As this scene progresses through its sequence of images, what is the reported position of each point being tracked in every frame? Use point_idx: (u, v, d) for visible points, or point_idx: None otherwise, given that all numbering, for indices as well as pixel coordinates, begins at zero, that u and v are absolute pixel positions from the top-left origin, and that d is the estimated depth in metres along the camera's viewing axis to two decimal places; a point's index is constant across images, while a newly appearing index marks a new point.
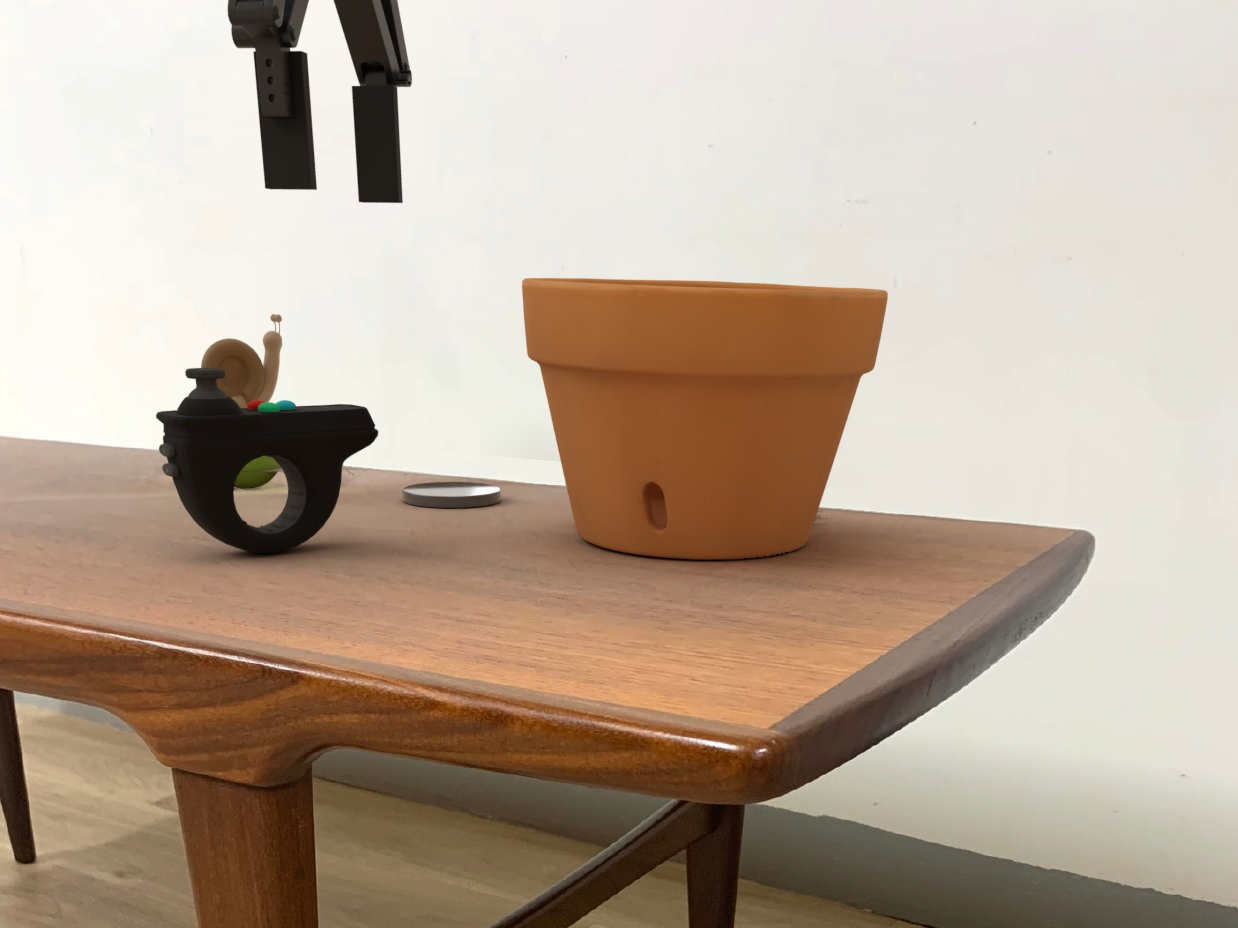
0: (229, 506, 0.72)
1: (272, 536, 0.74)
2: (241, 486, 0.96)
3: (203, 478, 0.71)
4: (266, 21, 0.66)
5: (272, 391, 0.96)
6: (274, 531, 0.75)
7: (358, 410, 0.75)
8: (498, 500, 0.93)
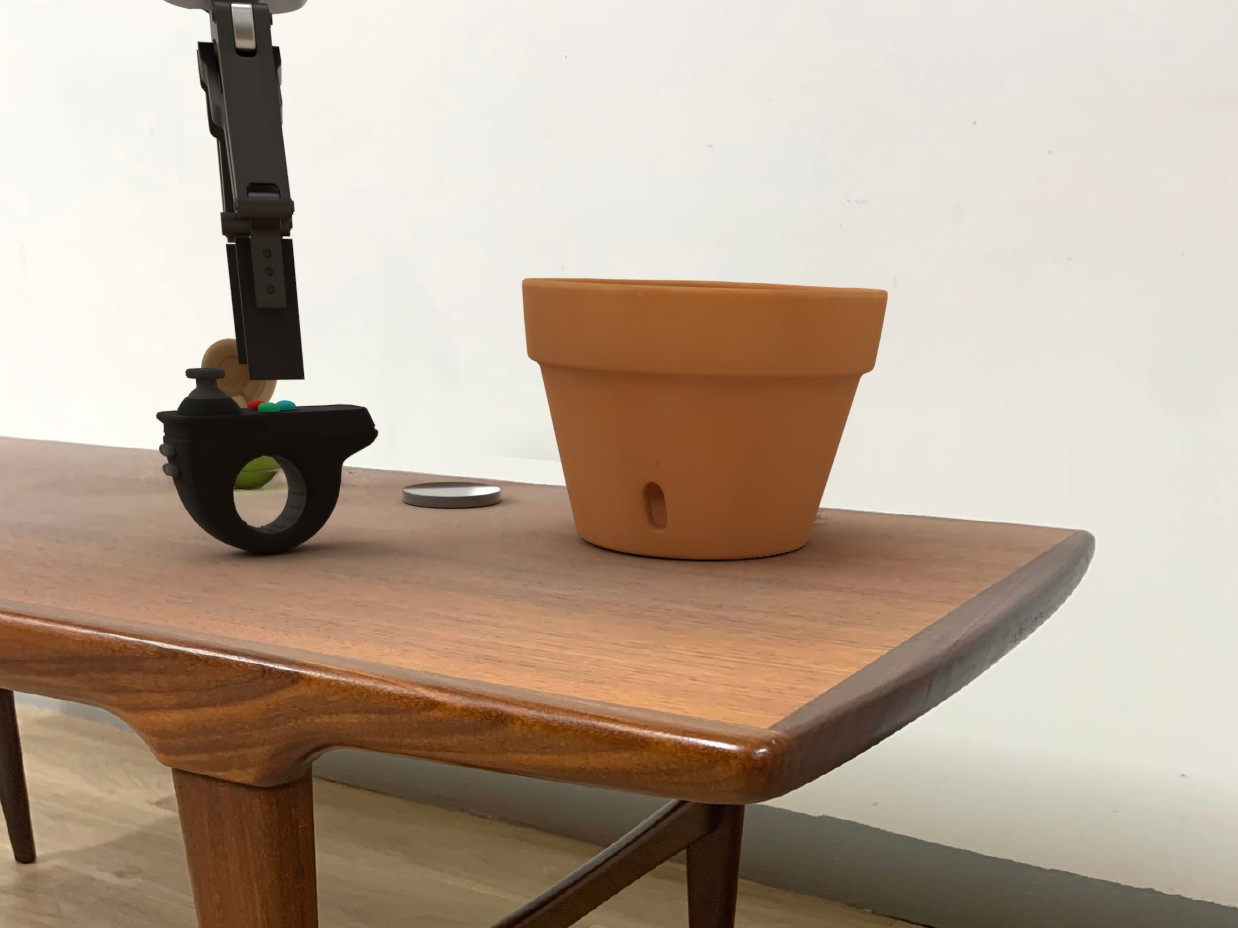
0: (229, 506, 0.72)
1: (272, 536, 0.74)
2: (241, 486, 0.96)
3: (203, 478, 0.71)
4: (282, 215, 0.61)
5: (272, 391, 0.96)
6: (274, 531, 0.75)
7: (358, 410, 0.75)
8: (498, 500, 0.93)
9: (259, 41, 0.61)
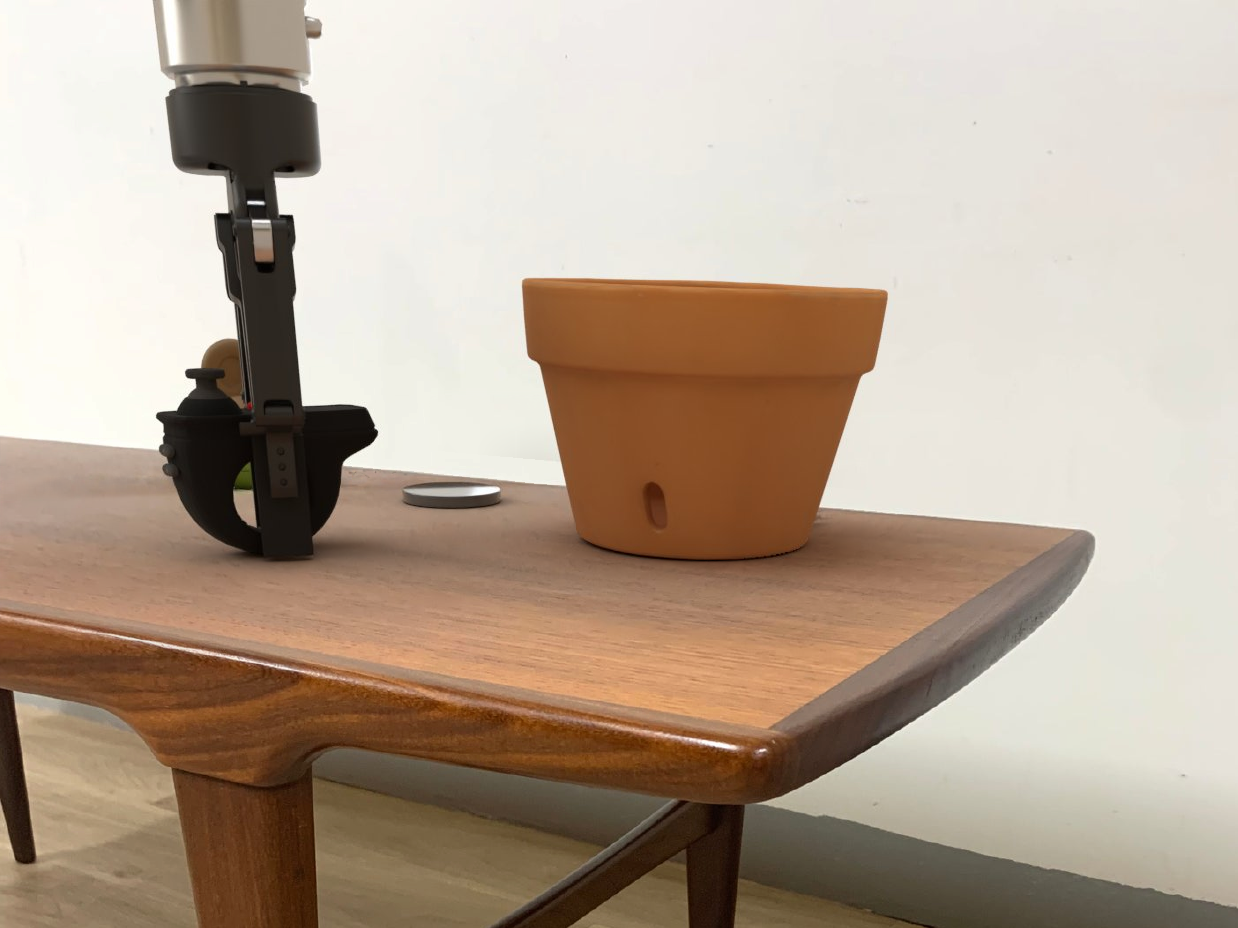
0: (229, 506, 0.72)
1: None
2: (241, 486, 0.96)
3: (203, 478, 0.71)
4: (295, 423, 0.68)
5: None
6: None
7: (358, 410, 0.75)
8: (498, 500, 0.93)
9: (277, 258, 0.65)
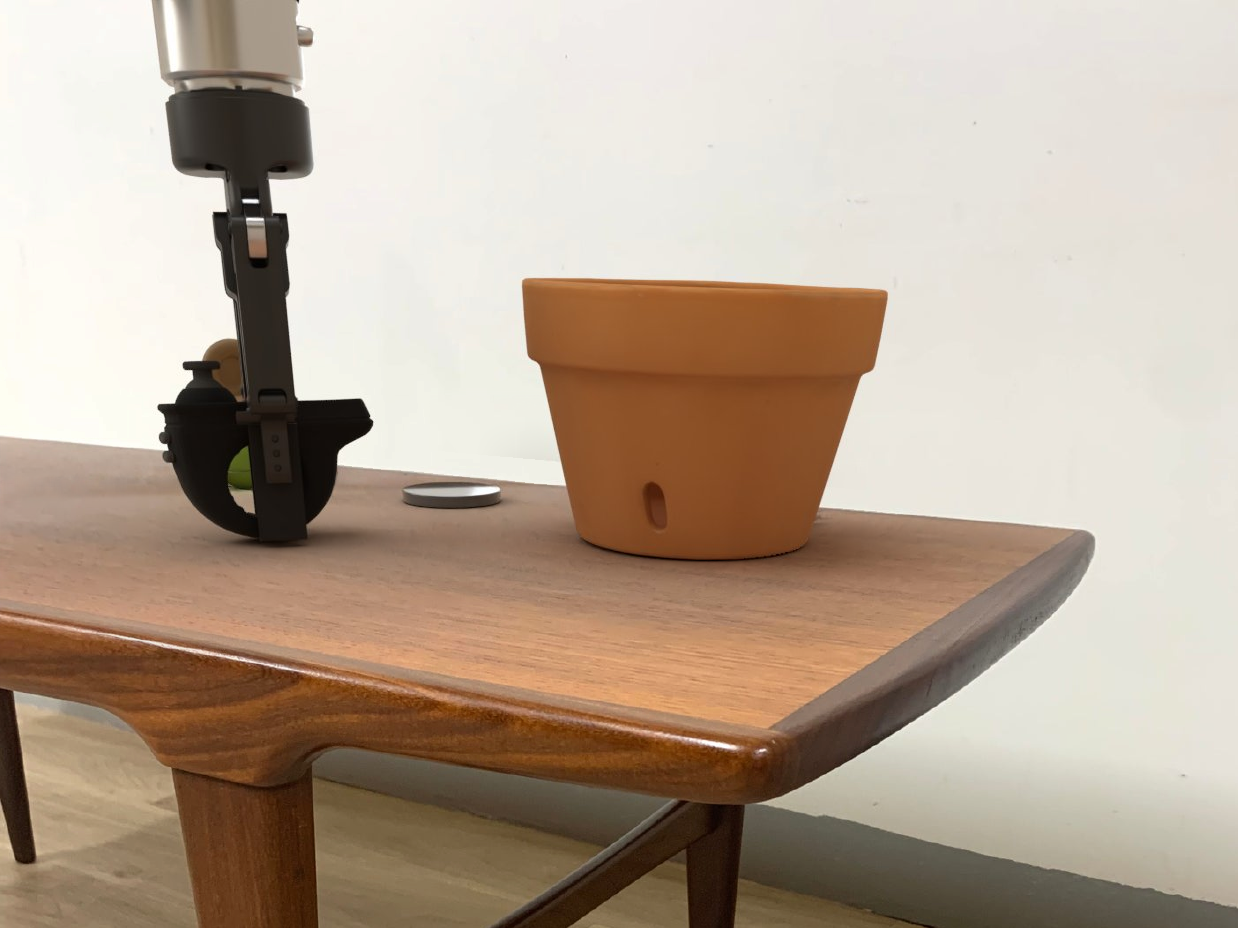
0: (222, 490, 0.75)
1: None
2: (241, 486, 0.96)
3: (195, 462, 0.74)
4: (288, 410, 0.72)
5: None
6: None
7: (351, 400, 0.78)
8: (498, 500, 0.93)
9: (271, 254, 0.69)
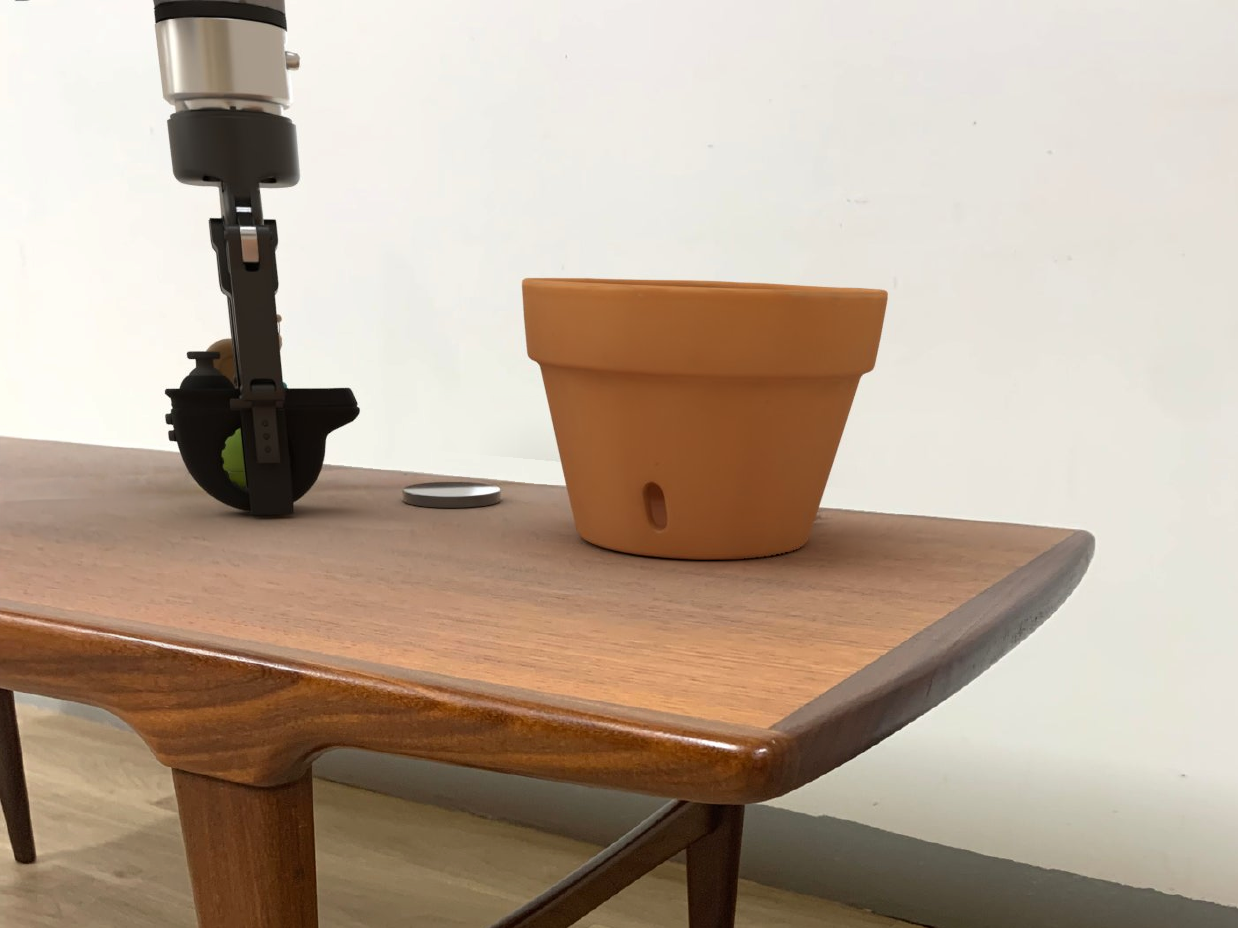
0: (214, 467, 0.84)
1: None
2: (241, 486, 0.96)
3: (191, 442, 0.84)
4: (276, 398, 0.81)
5: None
6: None
7: (338, 389, 0.85)
8: (498, 500, 0.93)
9: (262, 259, 0.77)
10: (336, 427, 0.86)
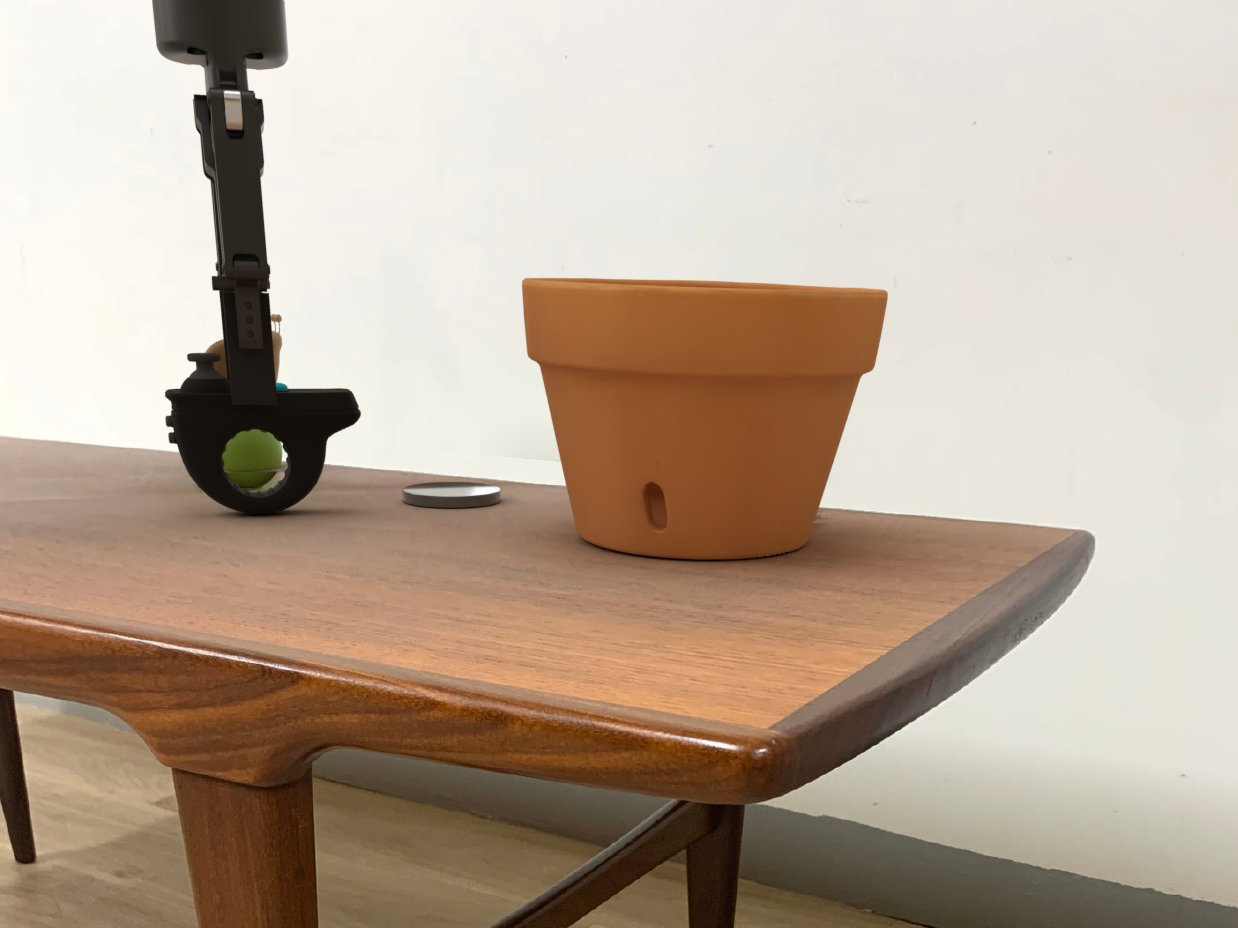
0: (215, 471, 0.84)
1: (256, 499, 0.86)
2: (241, 486, 0.96)
3: (191, 446, 0.83)
4: (260, 277, 0.77)
5: None
6: (262, 495, 0.87)
7: (339, 393, 0.85)
8: (498, 500, 0.93)
9: (246, 126, 0.74)
10: (337, 431, 0.86)
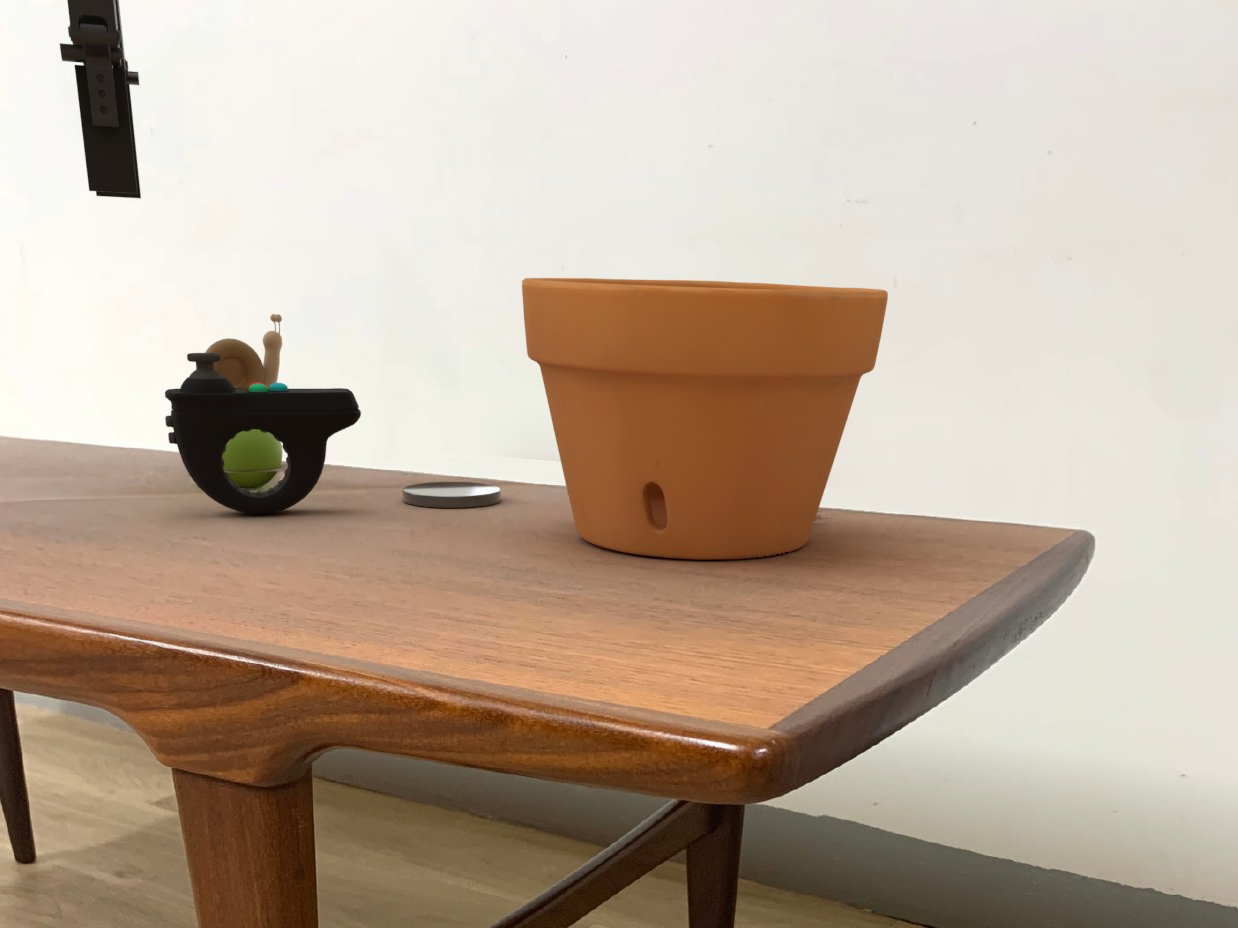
0: (215, 471, 0.84)
1: (256, 499, 0.86)
2: (241, 486, 0.96)
3: (191, 446, 0.83)
4: (109, 42, 0.73)
5: None
6: (262, 495, 0.87)
7: (339, 393, 0.85)
8: (498, 500, 0.93)
9: None
10: (337, 431, 0.86)
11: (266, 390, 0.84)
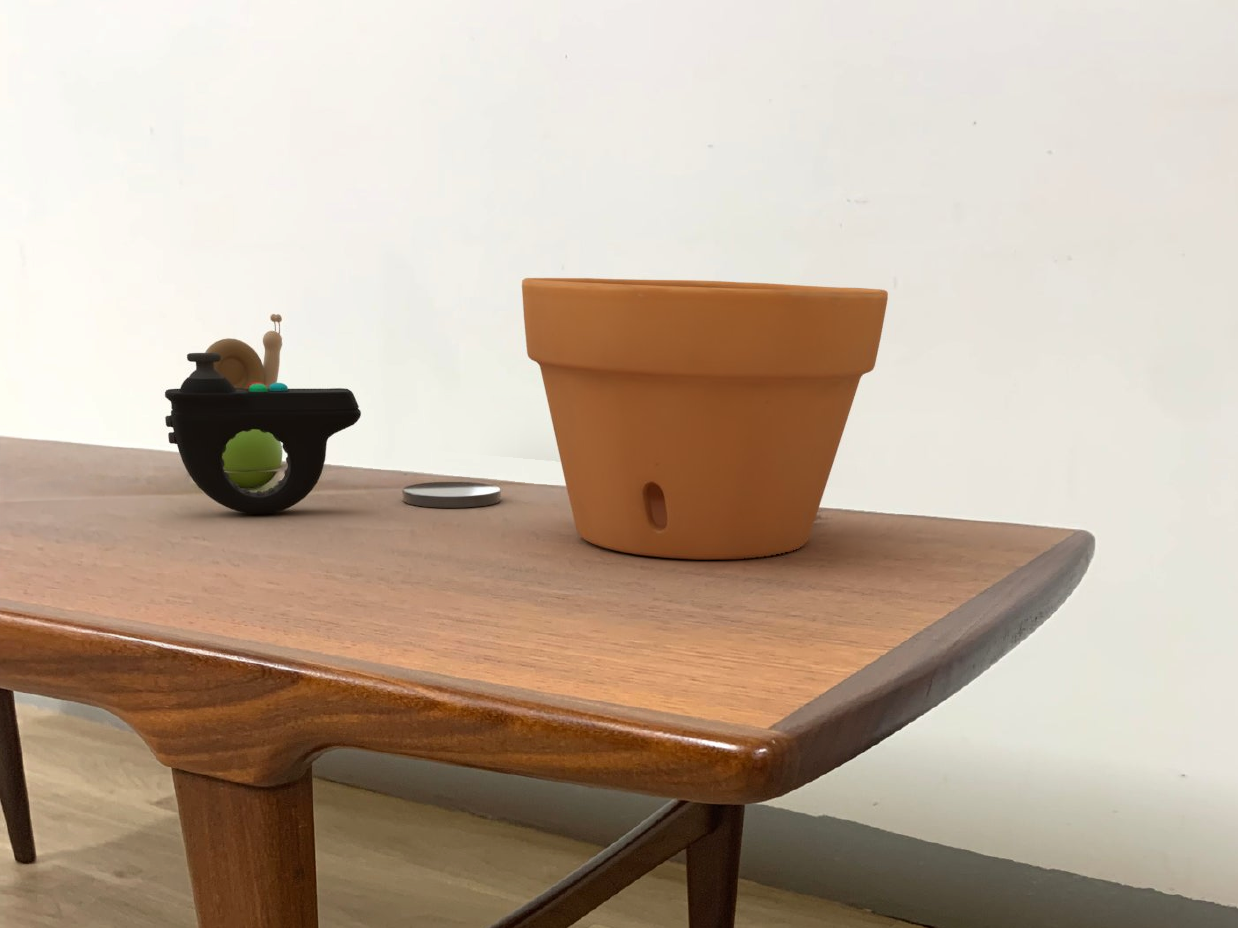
0: (215, 471, 0.84)
1: (256, 499, 0.86)
2: (241, 486, 0.96)
3: (191, 446, 0.83)
4: None
5: None
6: (262, 495, 0.87)
7: (339, 393, 0.85)
8: (498, 500, 0.93)
9: None
10: (337, 431, 0.86)
11: (266, 390, 0.84)
